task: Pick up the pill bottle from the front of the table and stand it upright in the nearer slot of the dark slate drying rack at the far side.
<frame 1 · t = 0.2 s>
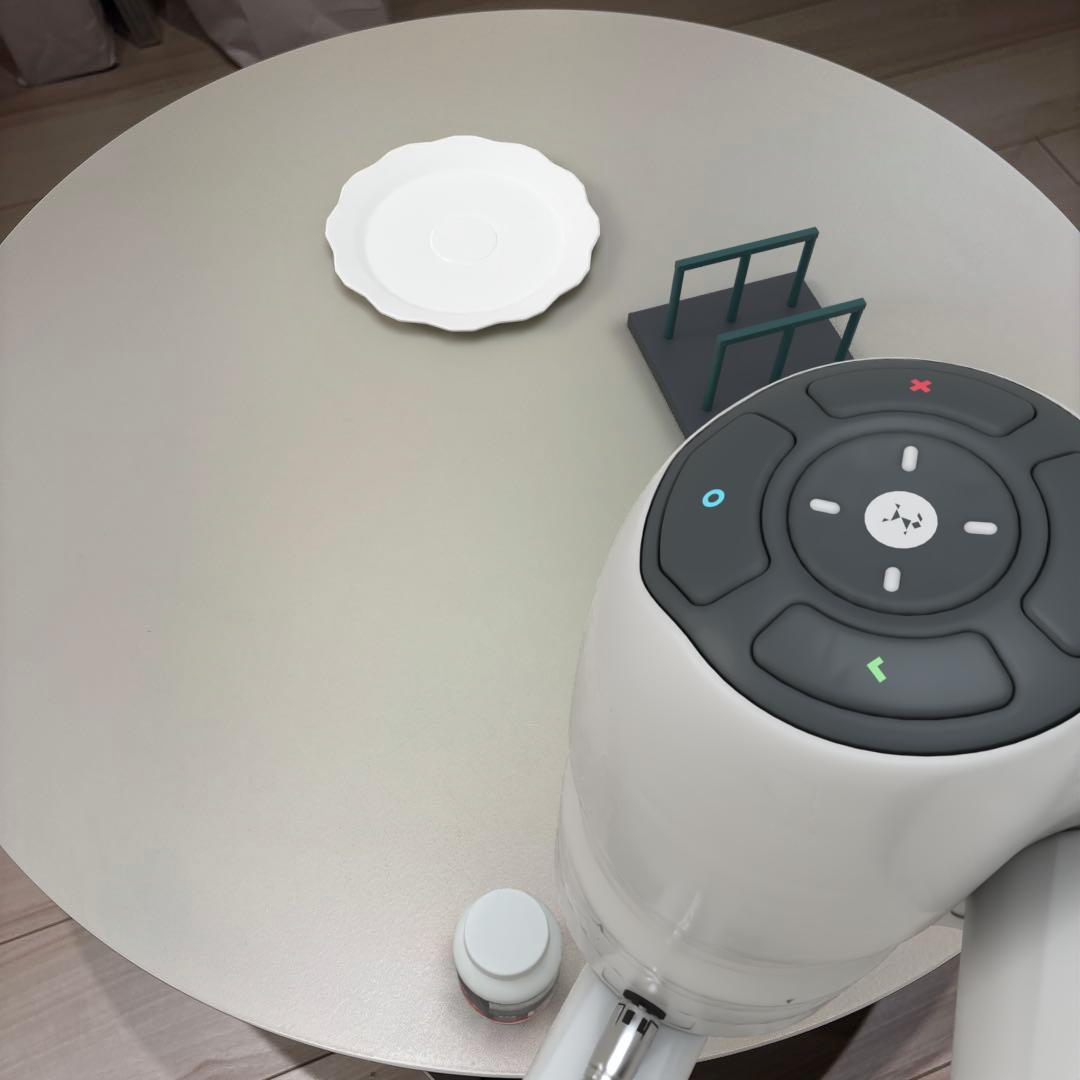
hand: (664, 959, 41), 21 cm above the table, tool pointing down, fingers open, 8 cm apart
pill bottle: (508, 973, 61), on the table
drying rack: (768, 400, 82), on the table
plate: (464, 243, 90), on the table
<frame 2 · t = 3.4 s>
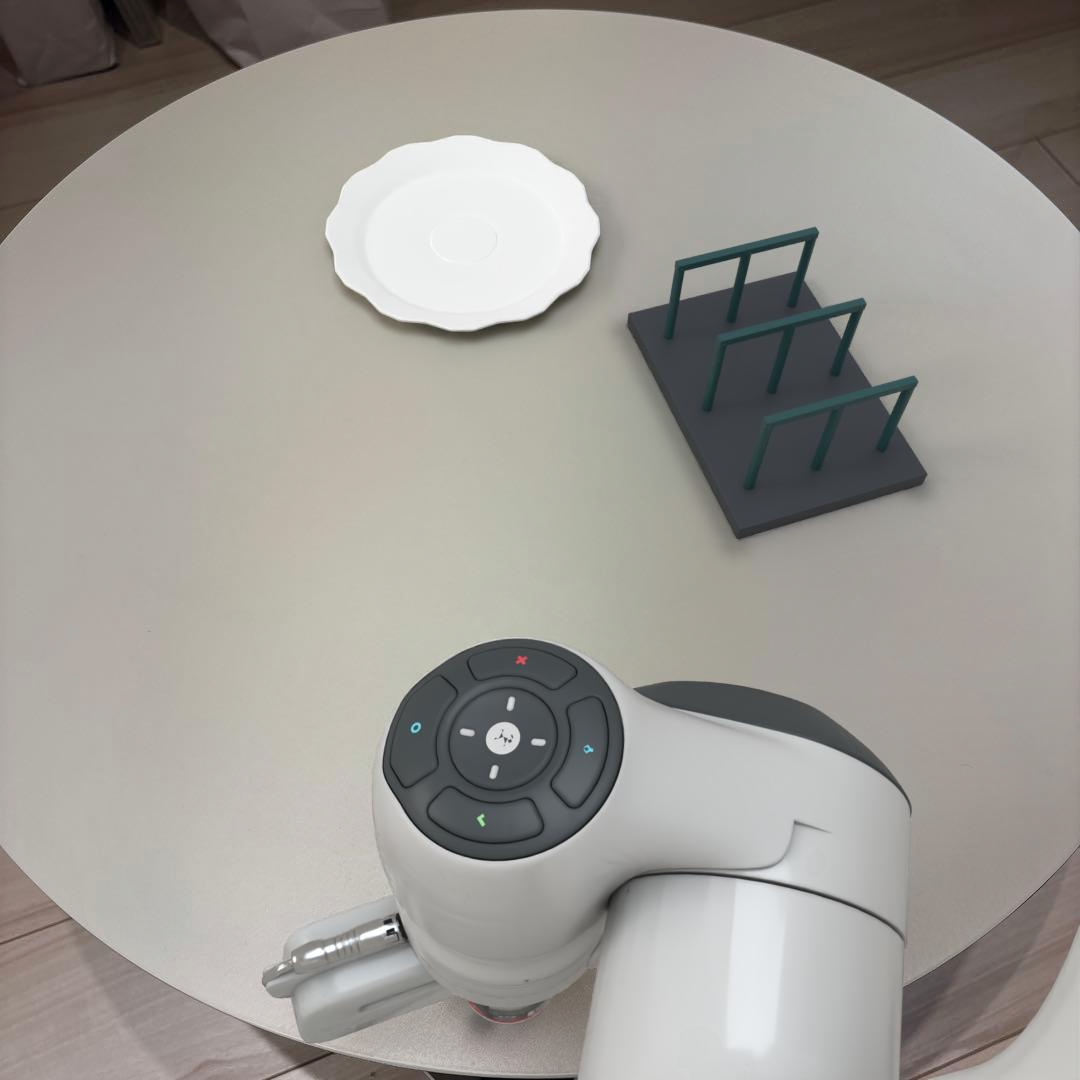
hand: (508, 958, 58), 4 cm above the table, tool pointing down, fingers closed on pill bottle, 5 cm apart
pill bottle: (508, 973, 61), on the table, touching gripper
everything else where it was.
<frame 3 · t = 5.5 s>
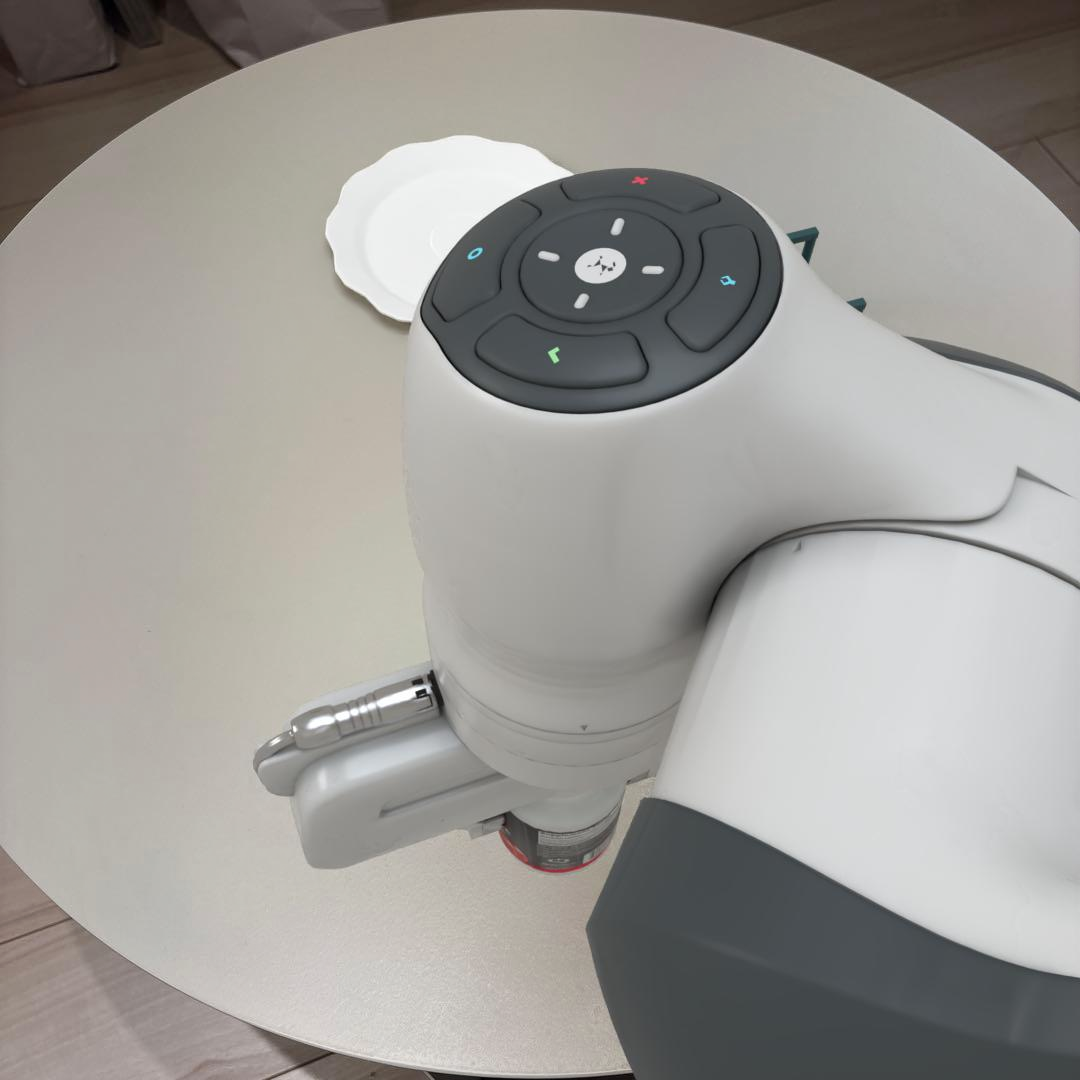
hand: (559, 789, 47), 19 cm above the table, tool pointing down, fingers closed on pill bottle, 5 cm apart
pill bottle: (555, 819, 50), point 15 cm above the table, touching gripper
everything else where it was.
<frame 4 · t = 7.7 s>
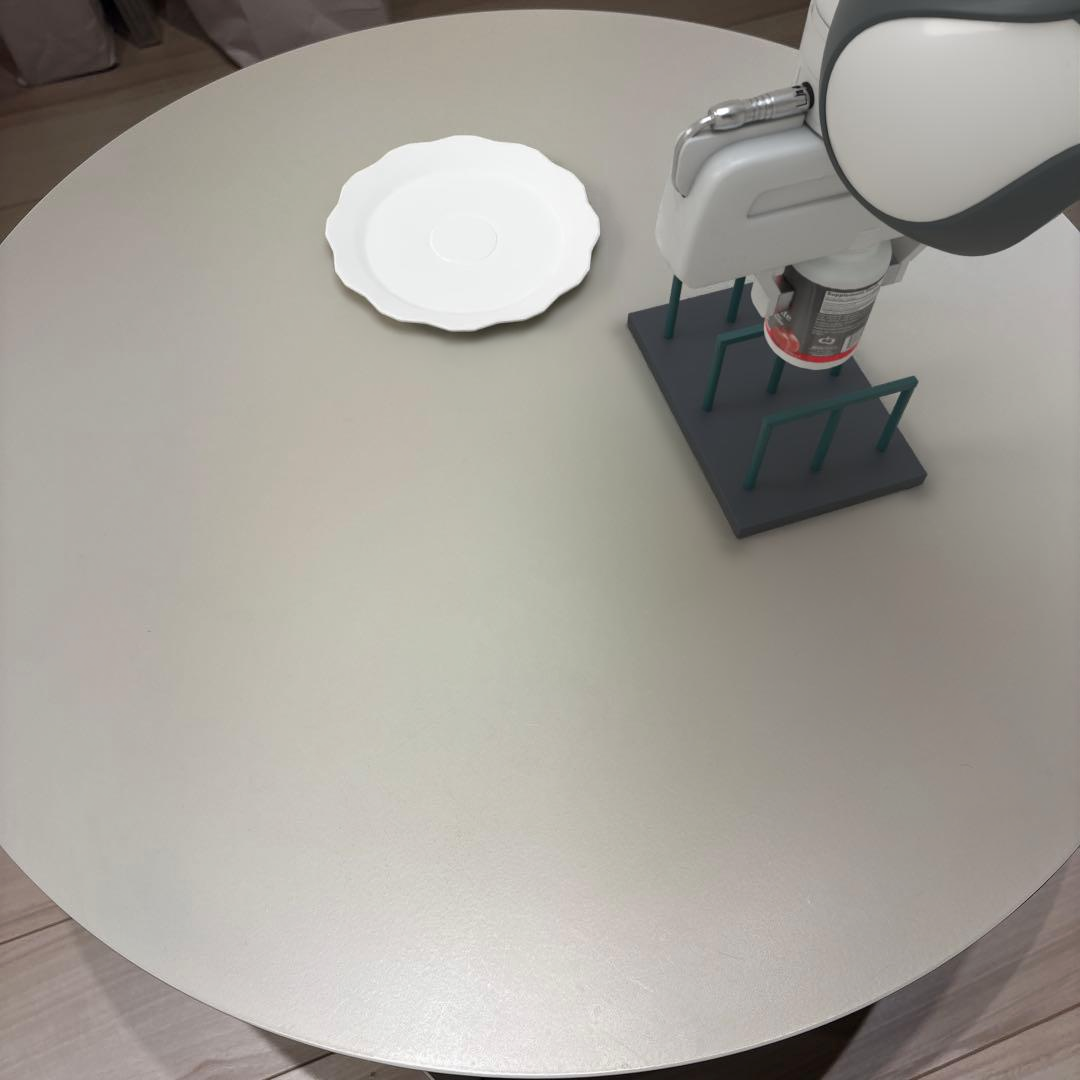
hand: (825, 291, 61), 19 cm above the table, tool pointing down, fingers closed on pill bottle, 5 cm apart
pill bottle: (808, 339, 65), point 15 cm above the table, touching gripper
everything else where it was.
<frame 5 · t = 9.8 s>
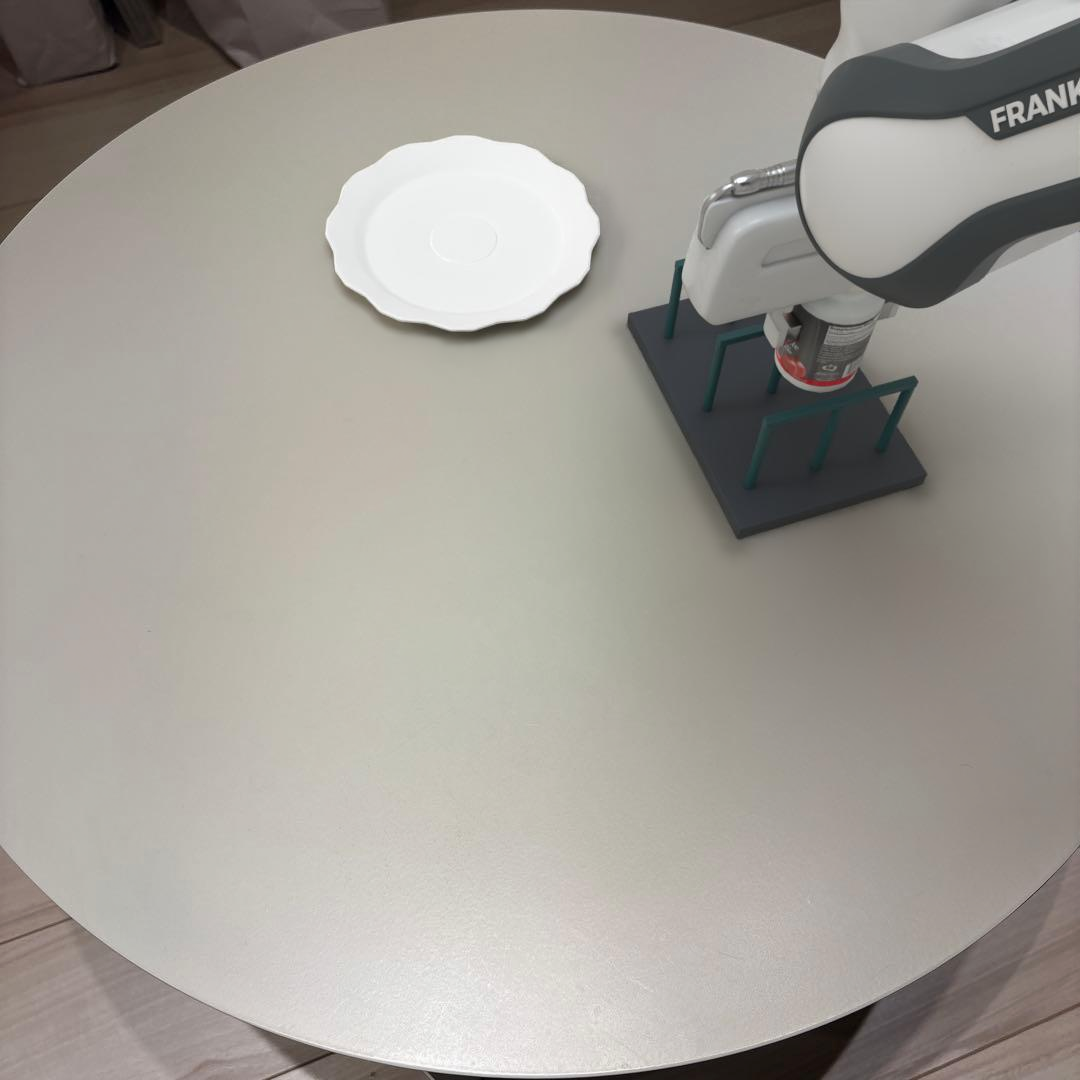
hand: (828, 324, 70), 12 cm above the table, tool pointing down, fingers closed on pill bottle, 5 cm apart
pill bottle: (813, 365, 74), point 8 cm above the table, touching gripper
everything else where it was.
when the fingers open (5 cm above the table, at t = 11.9 s): pill bottle stays where it is, resting on drying rack.
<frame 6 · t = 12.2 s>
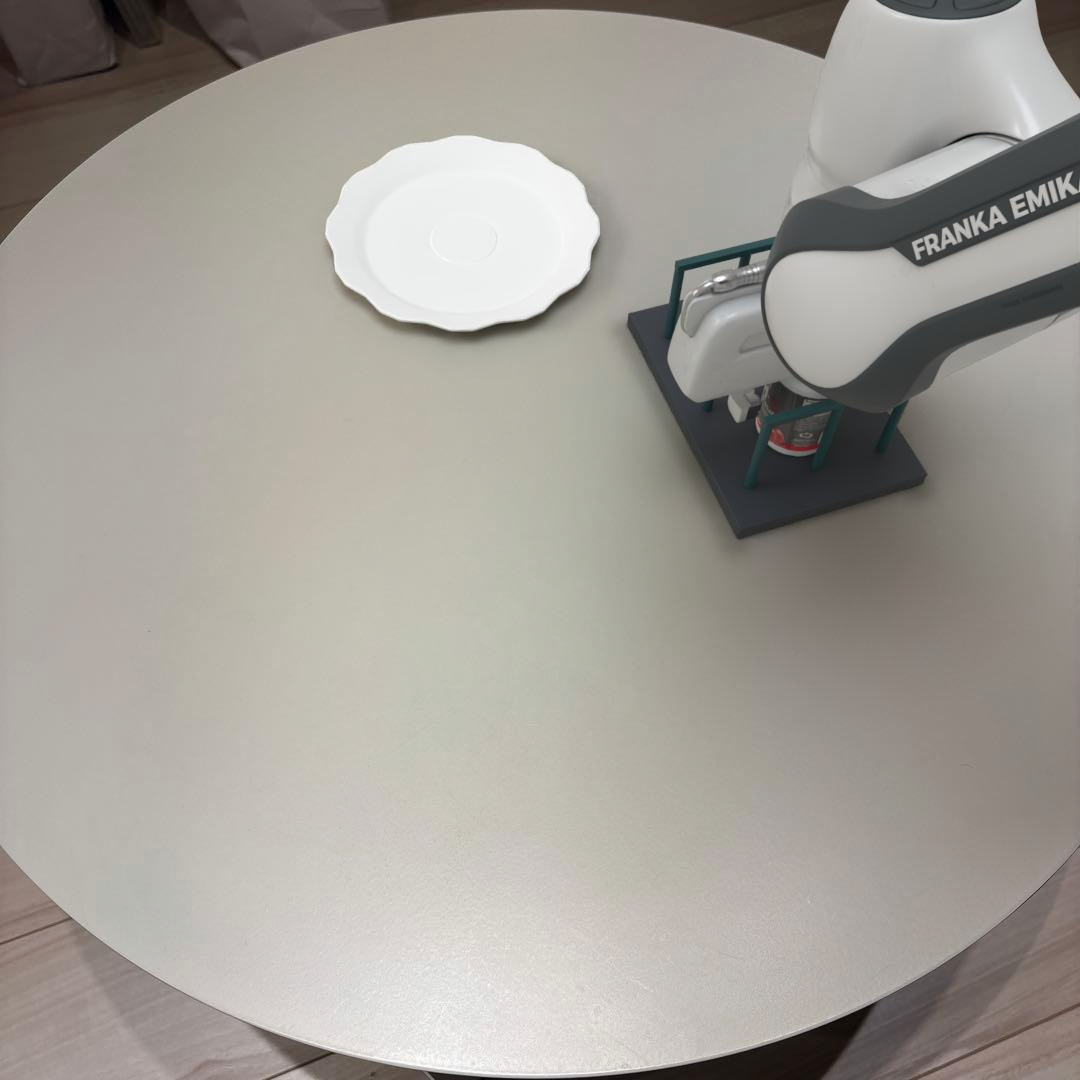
hand: (804, 395, 76), 5 cm above the table, tool pointing down, fingers open, 8 cm apart
pill bottle: (792, 429, 79), point 1 cm above the table, touching drying rack
everything else where it was.
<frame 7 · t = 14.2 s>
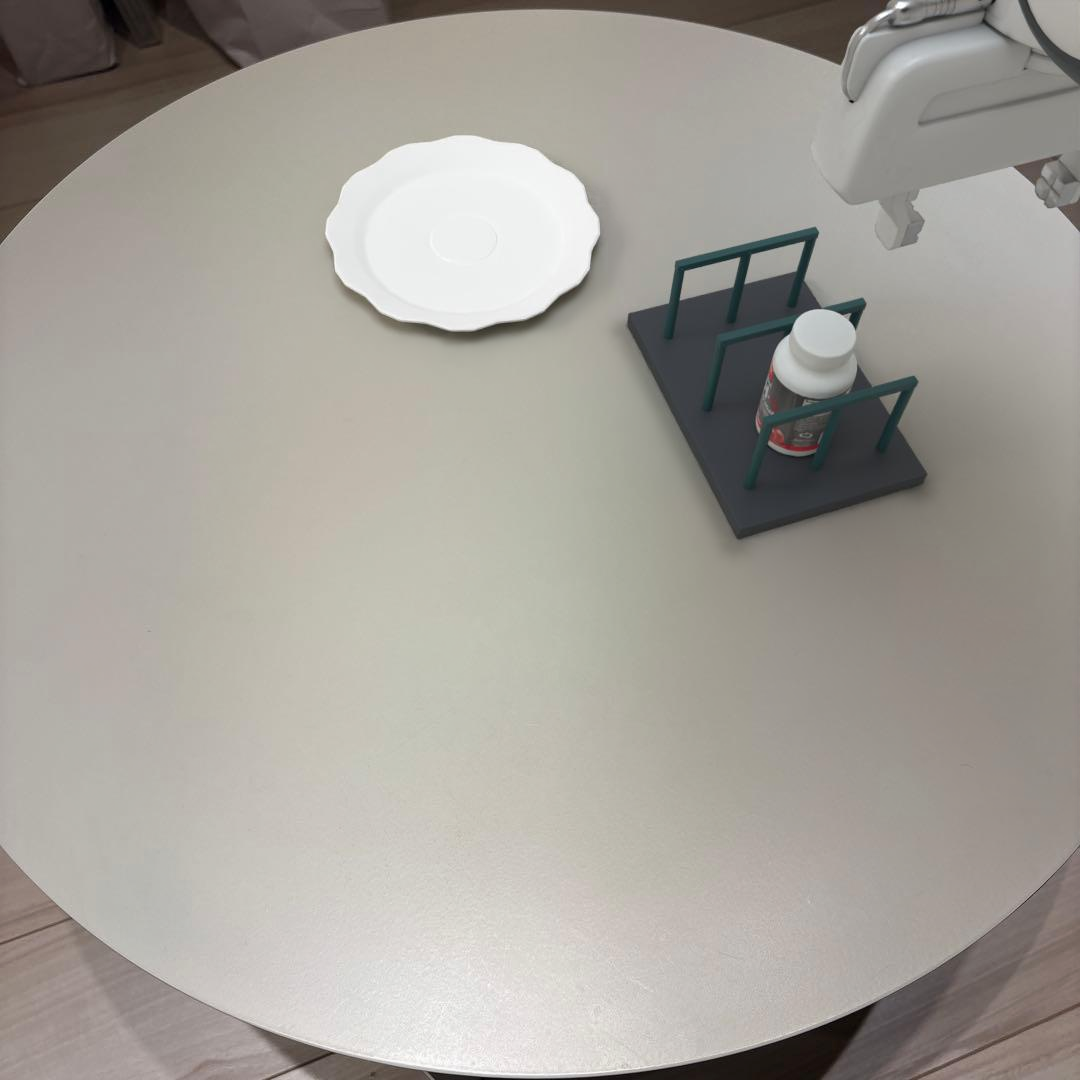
hand: (974, 218, 59), 23 cm above the table, tool pointing down, fingers open, 8 cm apart
nothing on the table moved.
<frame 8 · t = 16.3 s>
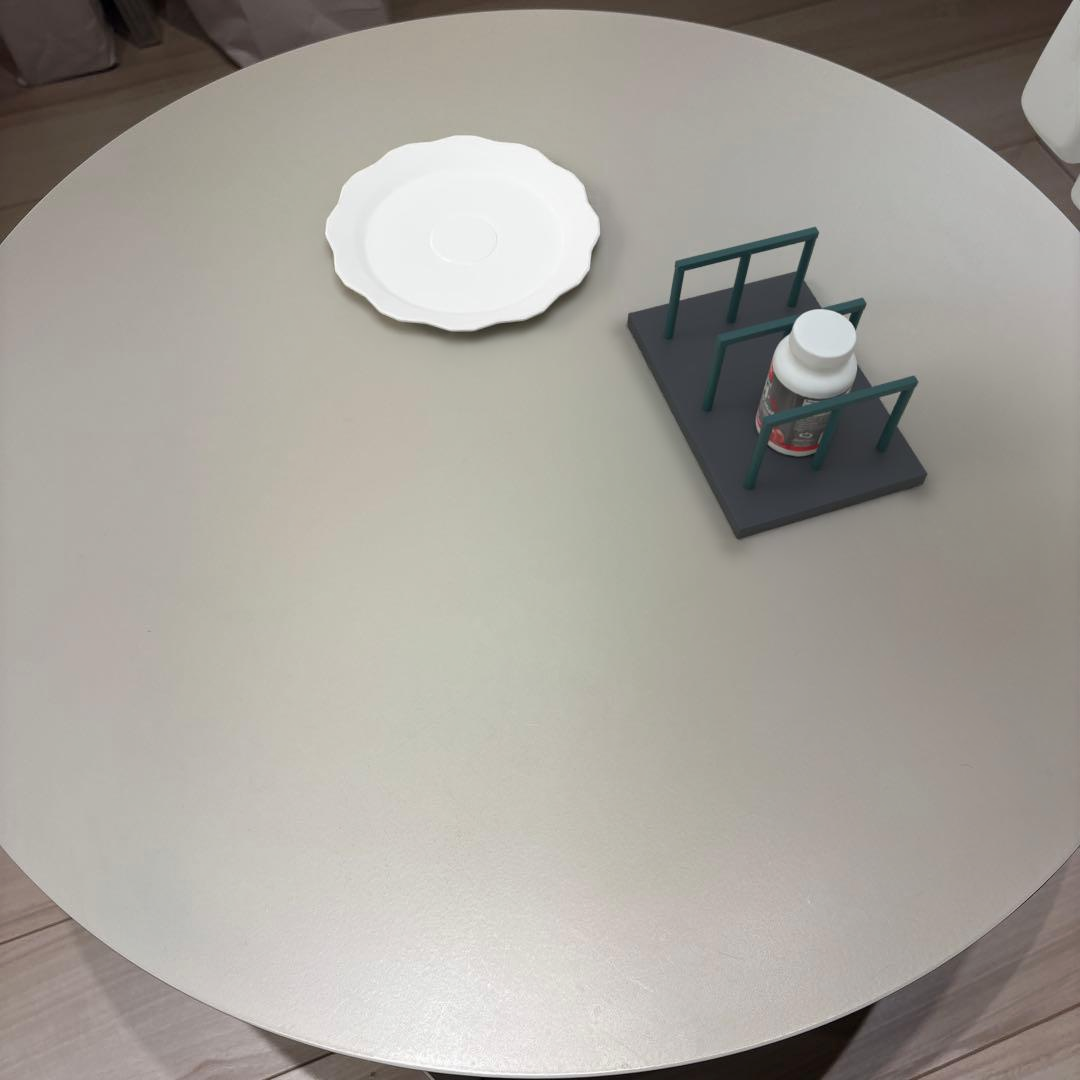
nothing on the table moved.
at the end: pill bottle inside the target area on the drying rack (0.0 cm from its centre), point 1.0 cm above the drying rack's base; pill bottle tilted 0°; the gripper is holding nothing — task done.
